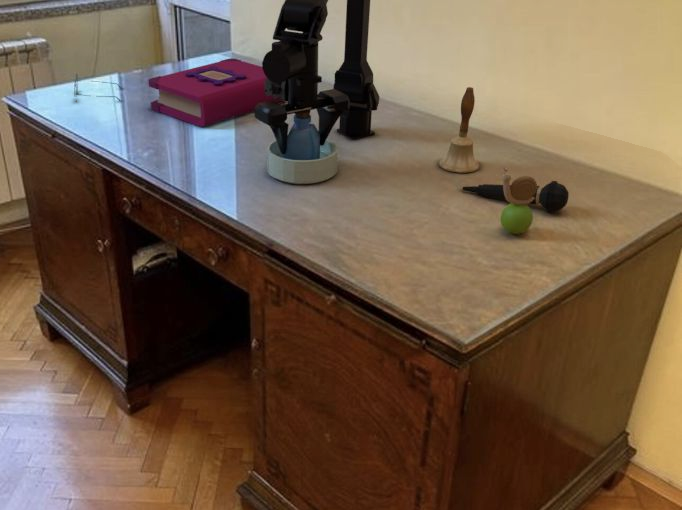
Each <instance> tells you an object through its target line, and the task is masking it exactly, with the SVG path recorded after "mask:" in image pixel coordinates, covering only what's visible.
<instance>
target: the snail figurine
mask: <svg viewBox="0 0 682 510" xmlns="http://www.w3.org/2000/svg"><path fill="white" fill-rule="evenodd" d="M502 169H503V170H504V171H503V172H504V173H503V175H502V178H501V179H502V185H503V190H504V195H505V198H506V200H505V201H507V202H508V203H509V204H507V205H506V206H505V207H504V208H503V210H501V214H500V224H501V226H502V228H503V229H504V230H505V231H506V232H507V233H510V234H515V235H517V234H518V235H519V234H523V233H524V232H526V231H527V230H529V228H530V227H531V226H532V224H533V220H534V214H533V211H532V209H531V208H530V206H529V205H530V204H529V203H530V202H532V201H533V200H534V197H532V196H533V195H534V194H535V193H536V190H537V186H538V184H537V181H536V179H535V178H534V177H532V176H530V175H522V176H521V175H520V176H519V177H517V178H516V179H515V180H513V181H512V183H511V179H512V176H511V174H510V173H507V172H508V171H509V169H508V168H507V167H506V166H504V167H503V168H502ZM510 185H511V186H510Z"/></svg>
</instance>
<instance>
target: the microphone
mask: <svg viewBox="0 0 682 510" xmlns="http://www.w3.org/2000/svg"><path fill="white" fill-rule="evenodd" d="M510 186H511V184H510ZM461 189H462V191H465V192H470V193H475V194H476V195H477V196H480V197H484V198H490V199H497V200H502V201H507V200H506V198H505V195H504V190H503V184H493V183H491V184H490V183H483V184H478V185H473V186H472V185H471V186H462V188H461ZM569 195H570V193H569V190H568V189H567V187H566V186H565V185H564V184H562V183H559V182H558V180H551V181H550V182H549V183H547V184H545V185H544V186H543V187H542V186H541V185H537V190H536V193H535V194H534V195H533V196H532V197H534V200H533V201H532V202H530V203H529V204H528V205H533V206H534V205H535V206H538V205H540V206H541V207H542V208H543V209H544V210H545V212H547V213H551V214H552V213H553V212H557V211H561V210H562V209H564V208H565V207H566V206H567V204H568V201H569Z"/></svg>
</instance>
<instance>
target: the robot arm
mask: <svg viewBox="0 0 682 510" xmlns="http://www.w3.org/2000/svg"><path fill="white" fill-rule="evenodd" d="M328 2H329V0H284V2H283V4H282V5H281V8H280V11H279V15H278V18H277V20H276V25H275V28H274V32H273V34H272V40H274V41H273V42H272V43H271V49H270V50H269V51H268V52H266V54H265V55H264V56H263V60H262V61H261V67H262V68H263V71H264V74H265V76H266V77H267V78H268V79H265V93H266V95H267V96H270V95H273V96H274V100H275V99H279V98H280V97H282V100H283V101H282V102H287V103H285V104H280V103H276V102H275V101H268V102H263V103H258V104H257V105H256V107H255V110H254V119H256V120H258V121H260V122H262V123H263V124H265V125H267V126H269V128H270V129H271V131H272V133H273V135H274V138H275V140H276V141H277V144H278V146H279V149H280V152H281V153H282V154H285V153H286V148H287V136H288V134H289V123H287V122H286V121H287V119H288V115H294V114H295V113H297V112H301V111H305V110H310V111H312V110H313V111H314V110H316V112H317V115H318V132H319V133H320V145H321V146H323V145H324V143H325V141H326V139H327V140H328V137H329V135H330V133H331V132H332V130H333V128H334V127H335V125H336V123H337V121H338V119H339V125H338V126H339V128H337V129H336V133H339V134H340V135H342V136H345V137H346V138H347V139H348V138H349V139H350V140H357V139H361V138H366V137H370V136H374V135H376V132H375V131H374V130H372V114H373V111H377V110H378V107H379V105H380V94H379V92H378V90H377V88H376V86H375V84H374V72H373V69H372V68H371V66H370V64H369V62H368V43H369V27H370V13H371V11H370V10H371V0H346V8H345V9H346V11H345V30H344V31H345V32H344V33H345V34H344V54H343V55H344V56H343V57H344V58H343V62H342V64H341V65H340V67H339V68H338V69H337V70H336V71H335V73H334V83H333V88H331V89H326V90H321V91H318V90H319V89H318V88H319V84H320V83H322V81H323V80H322V79H323V77H322V76H320V75H319V42H321V41H322V40H323V38H324V37H323V35H322V34H321V32H322V30H323V28H324V27H325V24H326V21H327V17H328V15H329V13H328V12H329V11H328V6H327V5H328Z"/></svg>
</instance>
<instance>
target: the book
mask: <svg viewBox="0 0 682 510" xmlns="http://www.w3.org/2000/svg"><path fill="white" fill-rule="evenodd" d="M265 79H268V78H267V77H266V76H265V74H264V71H263V68H262V65H259V64H255V63H250V62H247V61H243V60H241V59H237V58H225V59H221V60H219V61H215V62H212V63H208V64H204V65H201V66H200V65H199V66H196V67H192V68H189V69H185V70H184V69H183V70H181V71H177V72H172V73H169V74H165V75H158V76H155V77H151V78H148V80H147V81H148V87H149V88H151V89H155V90H158V99H157V100H153V101H151V102H150V109H151V111H153V112H156V113H159V114H160V113H161V114H164V115H166V116H167V115H168V116H170V117H173V118H175V119H178V120H179V121H180V120H181V121H184V122H186V123H188V124H192V125H194V126H197V127H200V128H202V127H207V126H210V125H213V124H216V123H219V122H222V121H225V120H226V121H227V120H228V119H229V120H230V119H232V118H235V117H238V116H242V115H244V114H247V113H251V112H255V107H256V105H257V104H258V103H263V102H268V101H275V102H276V103H278V104H280V103H282V102H284V101H283V100H282V97H280V98H279V99H275V100H274V96H273V95H270V96H267V95H266V93H265Z"/></svg>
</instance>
